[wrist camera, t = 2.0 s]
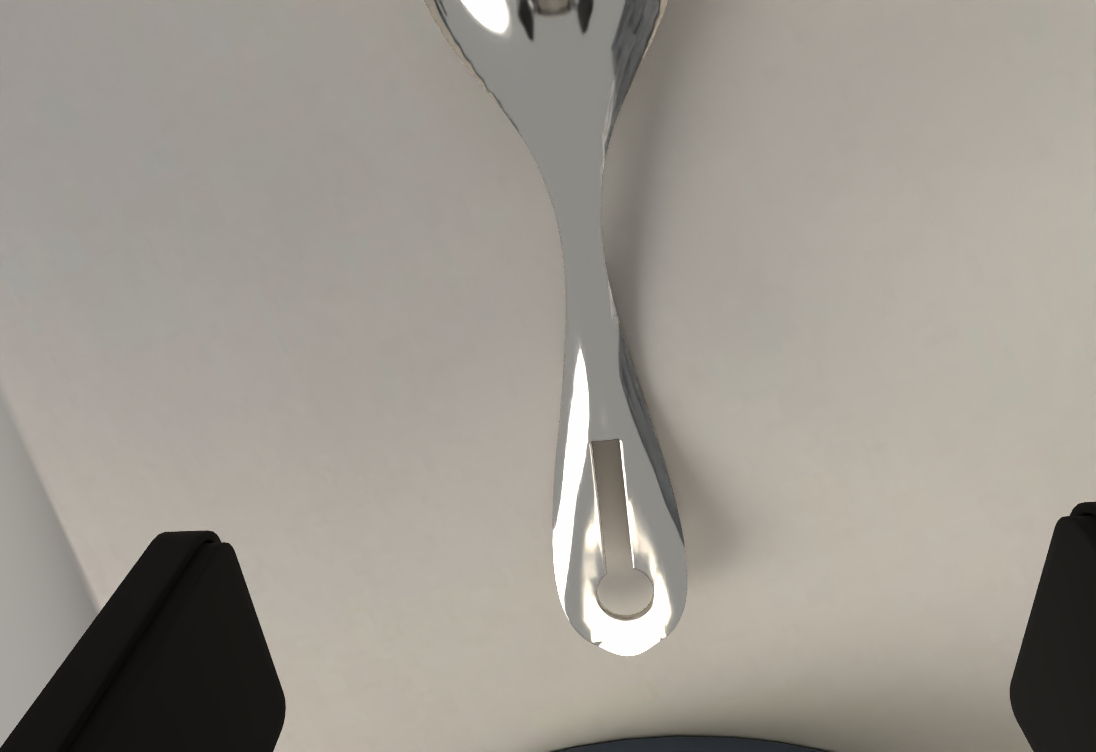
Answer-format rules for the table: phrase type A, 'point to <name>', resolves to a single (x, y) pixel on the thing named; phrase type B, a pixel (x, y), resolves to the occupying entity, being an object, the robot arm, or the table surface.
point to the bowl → (691, 745)
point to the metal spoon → (584, 284)
